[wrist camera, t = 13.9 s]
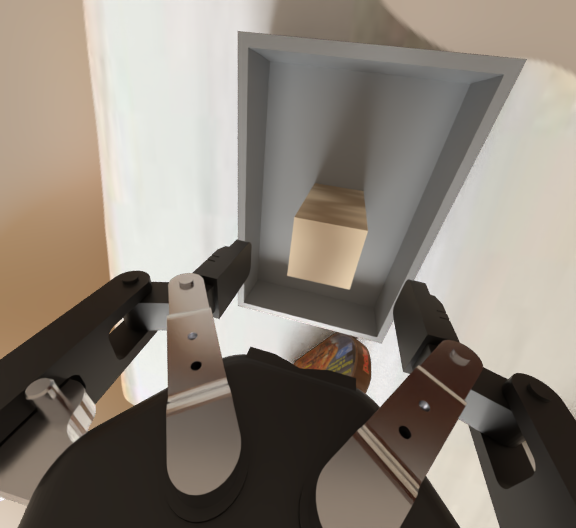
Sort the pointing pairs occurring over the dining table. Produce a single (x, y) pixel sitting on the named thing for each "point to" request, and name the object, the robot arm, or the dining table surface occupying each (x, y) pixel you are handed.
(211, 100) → the dining table surface
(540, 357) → the dining table surface
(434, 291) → the dining table surface
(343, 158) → the bin
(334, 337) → the tin
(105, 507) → the robot arm
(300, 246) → the wooden block
